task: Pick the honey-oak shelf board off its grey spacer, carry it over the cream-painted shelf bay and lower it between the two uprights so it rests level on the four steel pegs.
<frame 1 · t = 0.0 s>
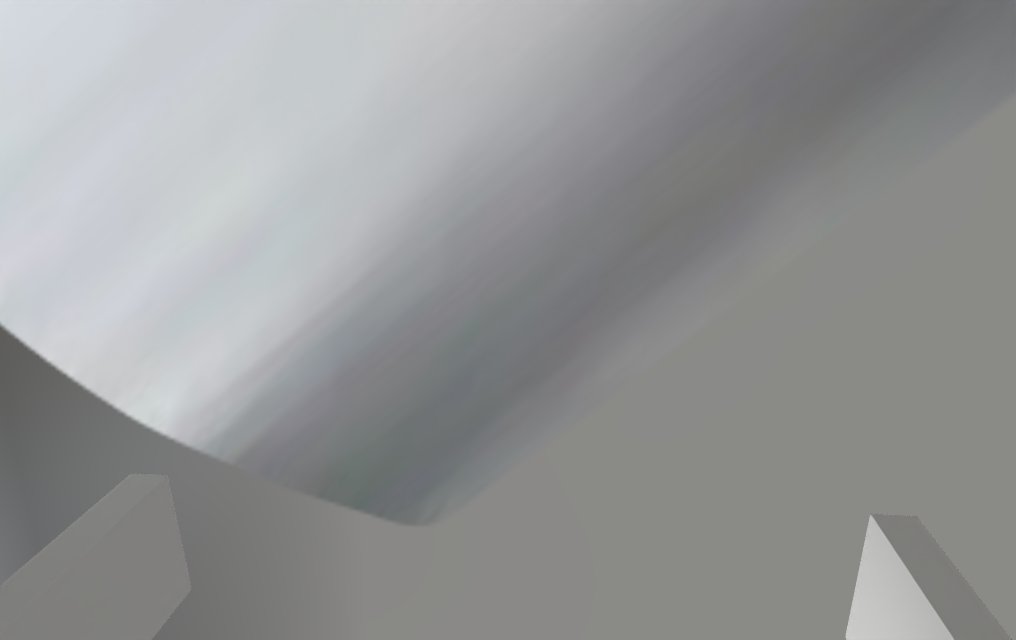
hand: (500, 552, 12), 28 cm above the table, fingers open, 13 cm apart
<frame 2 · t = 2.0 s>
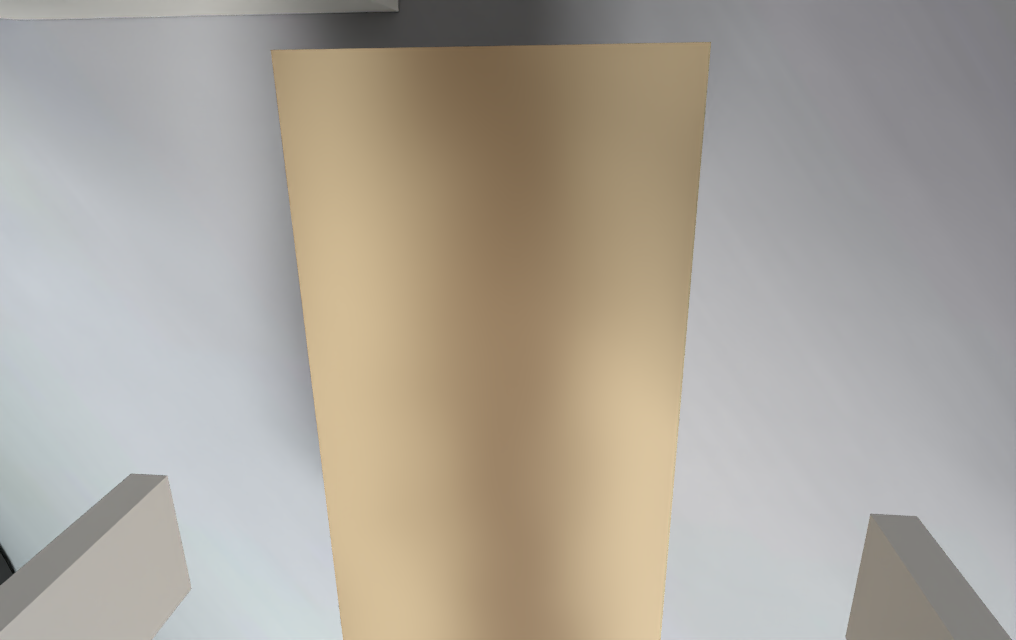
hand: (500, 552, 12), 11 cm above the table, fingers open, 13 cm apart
board: (506, 413, 18), point 5 cm above the table, touching spacer
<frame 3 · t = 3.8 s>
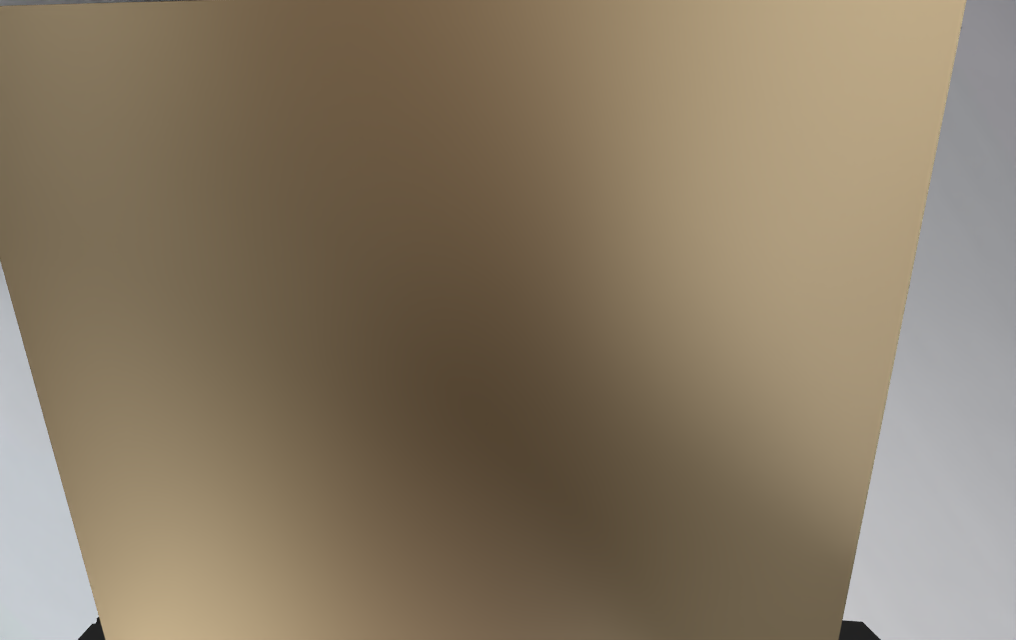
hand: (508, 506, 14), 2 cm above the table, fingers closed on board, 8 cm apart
board: (487, 625, 11), point 5 cm above the table, touching gripper, spacer
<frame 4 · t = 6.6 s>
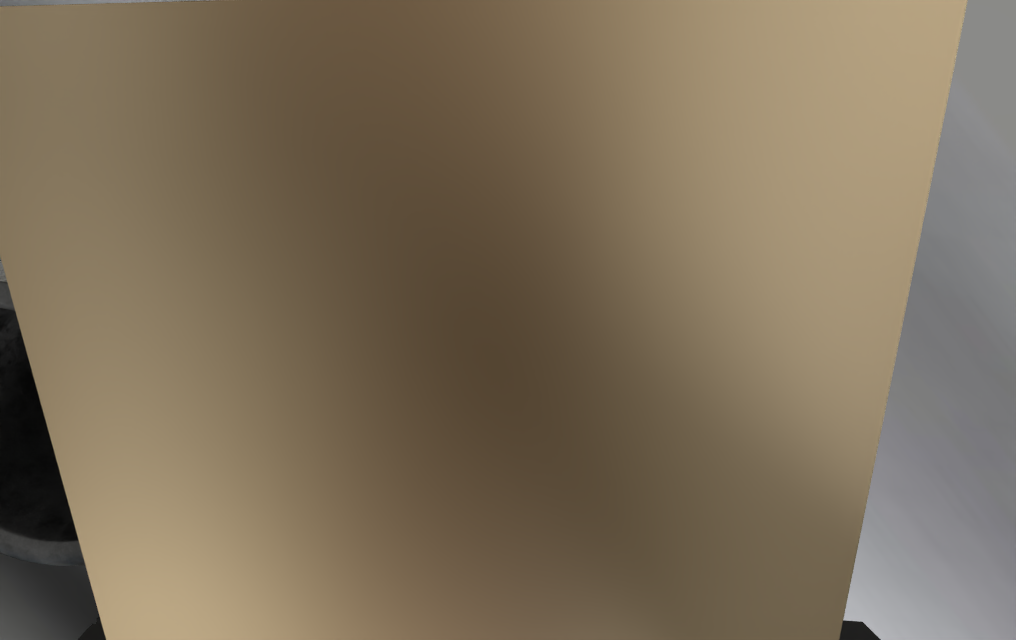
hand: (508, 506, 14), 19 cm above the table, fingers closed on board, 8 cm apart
planter: (183, 331, 36), on the table
board: (487, 625, 11), point 23 cm above the table, touching gripper
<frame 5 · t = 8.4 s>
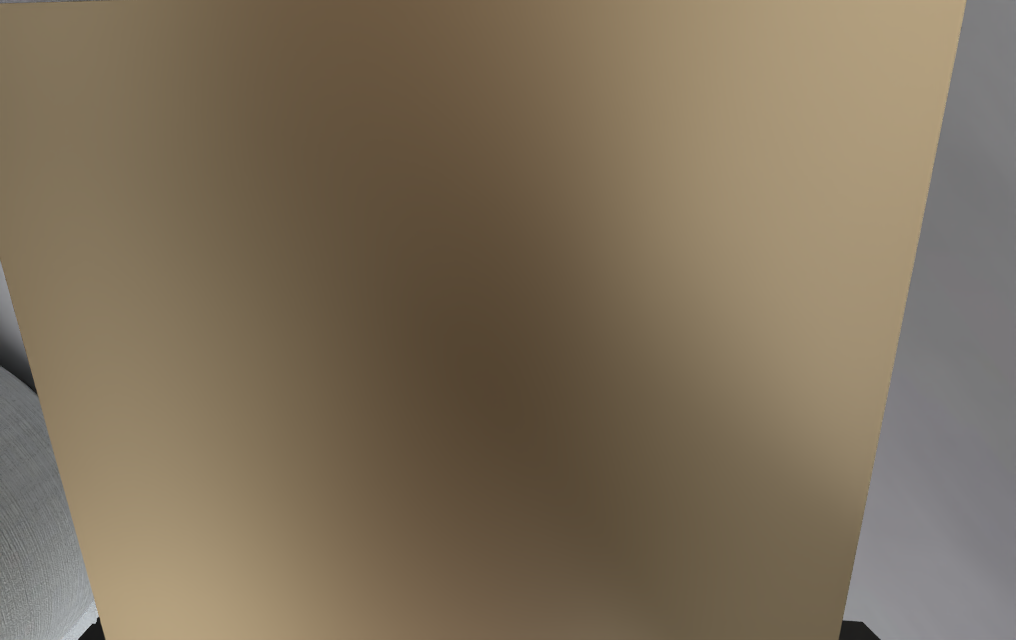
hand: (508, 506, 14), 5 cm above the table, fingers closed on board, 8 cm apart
board: (487, 624, 11), point 9 cm above the table, touching gripper
when the fingers open (2 cm above the table, at t = 9.9 s): board drops 1 cm, resting on shelf bay.
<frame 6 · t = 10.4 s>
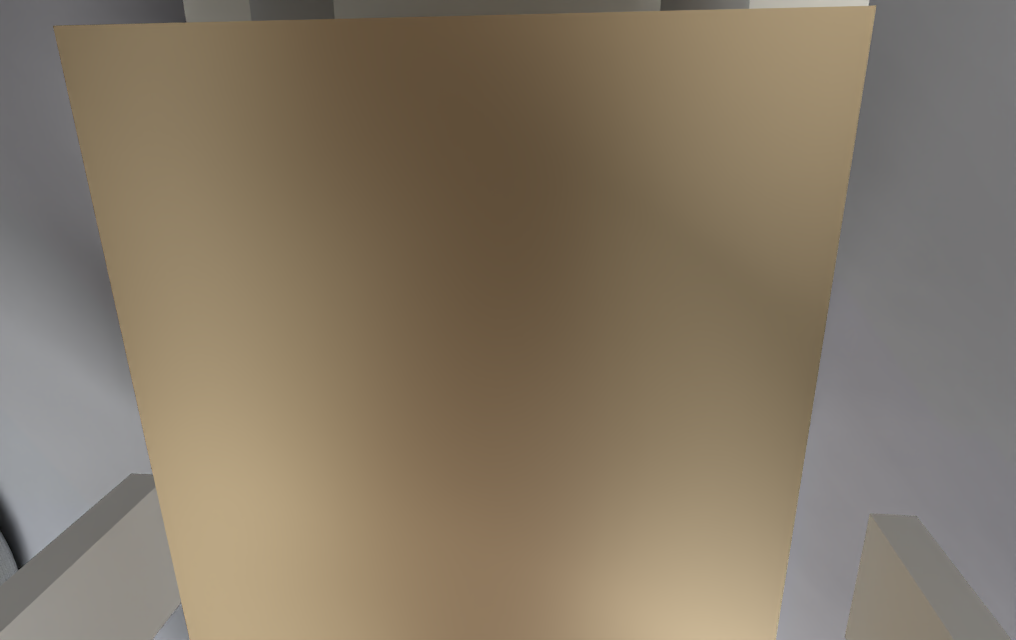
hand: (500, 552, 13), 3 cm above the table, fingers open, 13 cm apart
board: (494, 567, 12), point 4 cm above the table, touching shelf bay
shelf bay: (516, 462, 15), on the table
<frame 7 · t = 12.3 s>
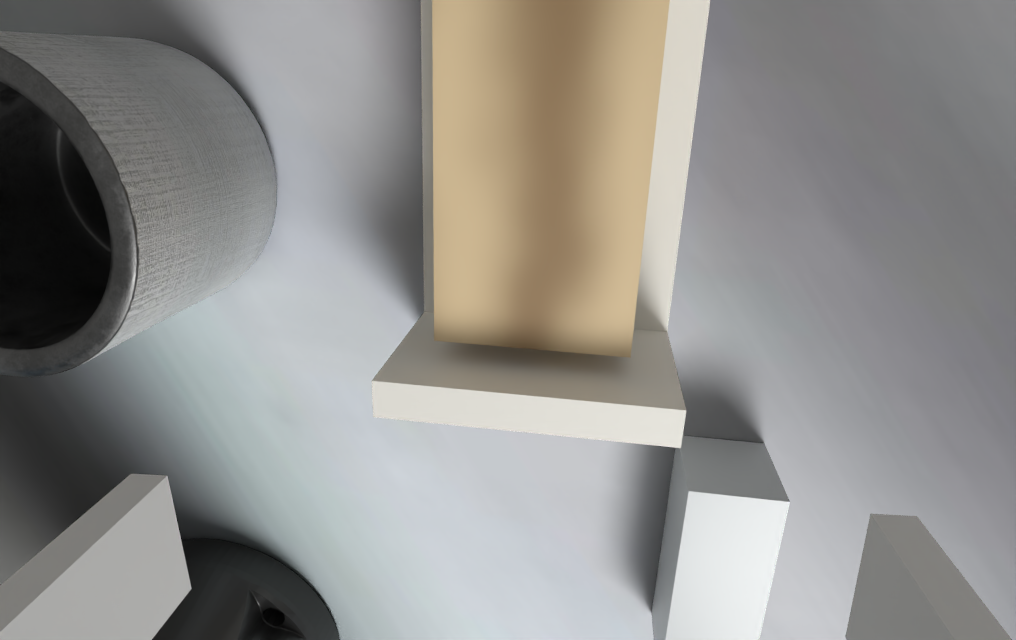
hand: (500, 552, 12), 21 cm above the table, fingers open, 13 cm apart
planter: (169, 173, 34), on the table
board: (548, 112, 26), point 4 cm above the table, touching shelf bay
shelf bay: (556, 107, 30), on the table
spacer: (704, 534, 36), on the table
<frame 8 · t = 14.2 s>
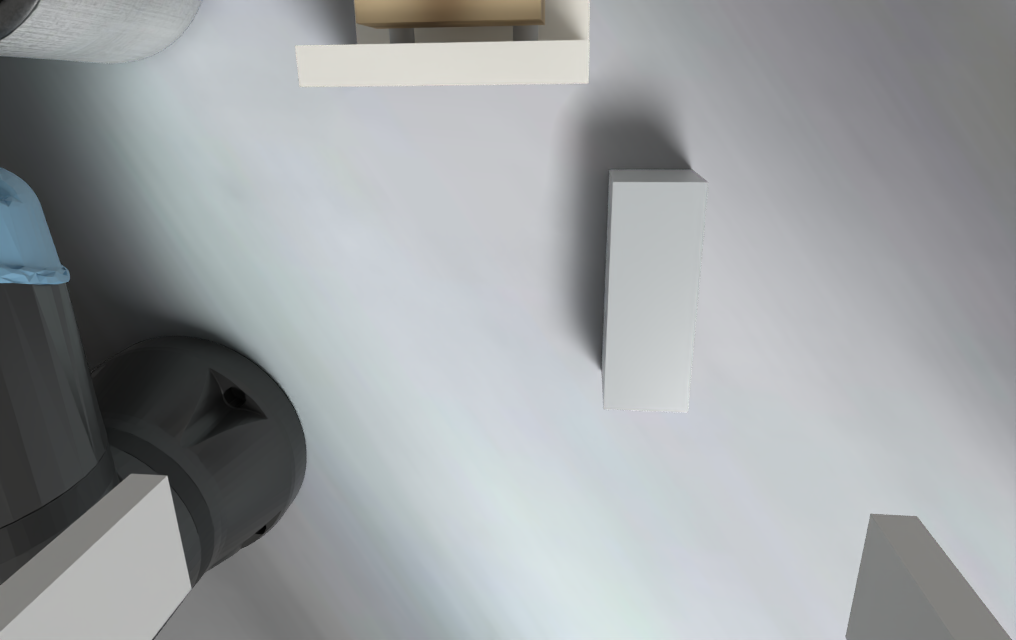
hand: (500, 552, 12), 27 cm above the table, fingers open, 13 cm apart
spacer: (644, 276, 38), on the table
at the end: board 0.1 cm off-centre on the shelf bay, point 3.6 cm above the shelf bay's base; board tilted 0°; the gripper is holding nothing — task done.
